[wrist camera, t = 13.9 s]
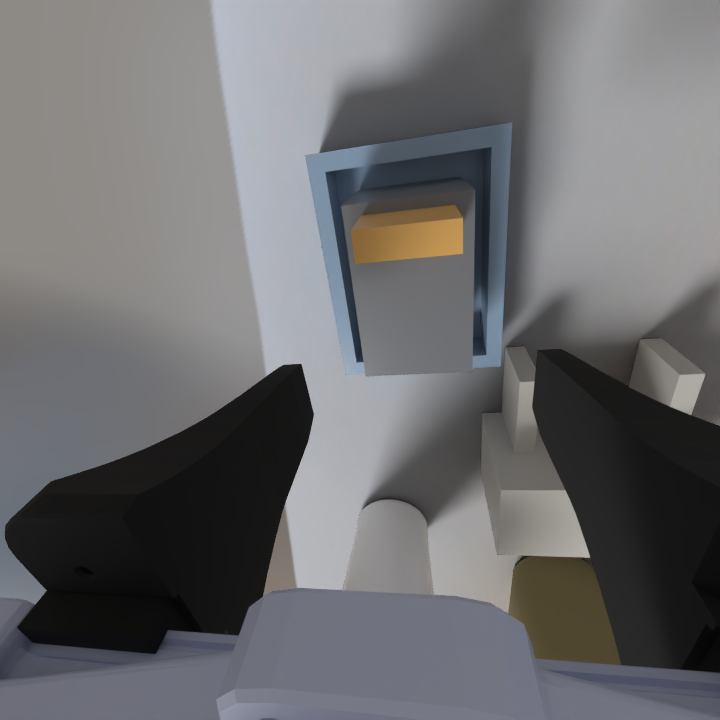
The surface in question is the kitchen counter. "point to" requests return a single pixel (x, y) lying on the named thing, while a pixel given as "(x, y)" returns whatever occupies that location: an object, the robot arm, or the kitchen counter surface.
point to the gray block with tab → (413, 275)
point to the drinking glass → (390, 550)
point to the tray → (408, 165)
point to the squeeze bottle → (562, 610)
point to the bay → (533, 464)
